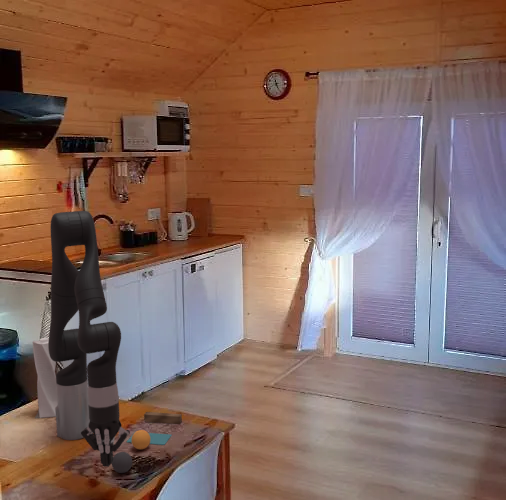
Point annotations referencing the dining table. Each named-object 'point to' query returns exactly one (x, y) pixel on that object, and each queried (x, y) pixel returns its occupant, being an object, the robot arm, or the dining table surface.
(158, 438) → the teal mark
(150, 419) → the walnut strip
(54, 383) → the skyscraper
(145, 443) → the orange ball
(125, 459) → the gray ball
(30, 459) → the dining table surface
